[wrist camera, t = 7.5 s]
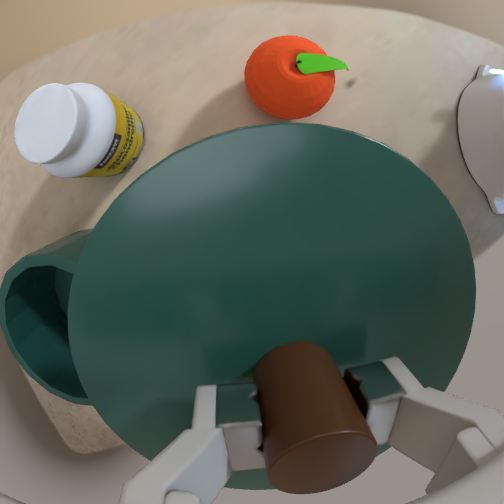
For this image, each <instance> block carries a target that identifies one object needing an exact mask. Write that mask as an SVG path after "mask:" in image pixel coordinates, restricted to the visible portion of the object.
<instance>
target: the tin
mask: <svg viewBox="0 0 504 504" xmlns="http://www.w3.org/2000/svg"><path fill="white" fill-rule="evenodd" d="M92 231H93V229H87V230H83V231H78V232H75V233H73V234H71V235H69V236H67V237H64V238H62V239H60V240H58V241H56V242H53V243H51V244H49V245H47V246H45V247H43V248H41V249H39V250H37V251H35V252H33V253H31V254H29V255H27V256H25V257H23V258H22V259H21V260H19V261H18V262H17V263H16V264H15V265H14V266H13V267H11V268H10V269H9V270H8V271H7V272H6V274H5V276H4V279H3V282H2V285H1V288H0V325H1V328H2V331H3V333H4V336H5V339H6V341H7V344H8V346H9V348H10V350H11V352H12V353H13V355H14V356H15V358H16V359H17V361H18V362H19V363H20V365H21V366H22V367H23V369H24V370H25V371H26V373H27V374H28V375H29V376H30V377H32V378H33V379H34V380H35V381H36V382H37V383H39V384H40V385H41V386H42V387H44V388H45V389H46V390H47V391H49V392H50V393H52V394H54V395H56V396H58V397H61V398H63V399H65V400H67V401H70V402H72V403H74V404H75V403H76V404H81V405H91V406H93V405H92V403H91V402H90V400H89V398H88V396H87V394H86V392H85V390H84V388H83V386H82V384H81V382H80V380H79V377H78V374H77V371H76V368H75V365H74V362H73V359H72V354H71V349H70V343H69V337H68V304H69V296H70V289H71V283H72V279H73V276H74V273H75V270H76V266H77V263H78V260H79V257H80V254H81V252H82V250H83V248H84V246H85V244H86V242H87V240H88V238H89V237H90V235H91V233H92Z"/></svg>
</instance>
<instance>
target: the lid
mask: <svg viewBox="0 0 504 504" xmlns="http://www.w3.org/2000/svg"><path fill="white" fill-rule="evenodd" d="M475 299H476V281H475V269H474V263H473V258H472V253H471V249H470V245H469V242H468V239H467V236H466V234H465V231H464V229H463V226H462V224H461V221H460V219H459V218H458V216H457V214H456V212H455V211H454V209H453V207H452V205H451V204H450V202H449V200H448V199H447V198H446V196H445V195H444V194H443V193H442V191H441V190H440V189H439V188H438V186H437V185H436V184H435V183H434V182H433V180H432V179H431V178H430V177H429V176H428V175H426V174H425V173H424V172H423V171H422V170H421V169H420V168H418V167H417V166H416V165H415V164H414V163H413V162H411V161H410V160H409V159H408V158H406V157H404V156H403V155H401V154H400V153H398V152H396V151H395V150H393V149H391V148H390V147H388V146H386V145H385V144H383V143H381V142H378V141H376V140H373V139H371V138H368V137H366V136H363V135H361V134H358V133H356V132H353V131H349V130H344V129H340V128H335V127H331V126H326V125H321V124H310V123H288V122H280V123H270V124H261V125H253V126H245V127H241V128H237V129H234V130H230V131H227V132H223V133H220V134H216V135H213V136H209V137H206V138H204V139H202V140H200V141H197V142H195V143H193V144H191V145H189V146H187V147H185V148H182V149H180V150H178V151H176V152H174V153H172V154H171V155H169V156H167V157H166V158H164V159H163V160H162V161H160V162H159V163H157V164H156V165H154V166H153V167H151V168H150V169H148V170H147V171H145V172H144V173H143V174H141V175H140V176H139V177H138V178H137V179H136V180H135V181H134V182H133V183H132V184H130V185H129V186H128V187H127V188H126V189H125V190H124V191H123V192H122V193H121V194H120V195H119V196H118V197H117V198H116V199H115V200H114V201H113V203H112V204H111V205H110V207H109V208H108V209H107V211H106V212H105V213H104V215H103V216H102V217H101V219H100V220H99V221H98V223H97V224H96V226H95V227H94V229H93V231H92V233H91V235H90V237H89V238H88V240H87V242H86V244H85V246H84V248H83V250H82V252H81V254H80V257H79V260H78V263H77V266H76V270H75V273H74V276H73V279H72V283H71V289H70V296H69V304H68V337H69V343H70V349H71V354H72V359H73V362H74V365H75V368H76V371H77V374H78V377H79V380H80V382H81V384H82V386H83V388H84V390H85V392H86V394H87V396H88V398H89V400H90V402H91V403H92V405H93V406H94V408H95V409H96V411H97V412H98V413H99V415H100V416H101V417H102V419H103V420H104V421H105V423H106V424H107V425H108V426H109V427H110V428H111V429H112V430H113V431H114V432H115V433H116V434H117V435H118V437H120V438H121V439H122V440H123V441H124V442H125V443H127V444H128V445H129V446H130V447H131V448H133V449H134V450H135V451H137V452H138V453H139V454H141V455H143V456H144V457H145V458H147V459H149V460H150V461H151V460H153V459H154V458H155V457H156V456H157V455H158V454H159V453H160V452H161V451H163V450H164V449H165V448H166V447H167V446H168V445H169V444H170V443H171V442H172V441H173V440H175V439H176V438H177V437H178V436H179V435H180V434H181V433H182V432H183V431H184V430H185V429H191V428H192V419H193V411H194V402H195V394H196V388H197V387H198V385H218V384H233V383H248V382H256V387H257V395H258V403H259V409H260V417H261V424H262V434H263V443H262V448H263V455H264V462H265V468H262V469H254V470H245V471H234V472H232V473H233V474H232V475H231V477H230V478H229V480H228V481H227V482H226V484H225V485H224V487H227V488H235V489H249V490H266V489H278V490H280V491H283V492H286V493H293V494H311V493H317V492H323V491H327V490H330V489H333V488H336V487H338V486H341V485H343V484H345V483H347V482H349V481H351V480H352V479H354V478H356V477H357V476H359V475H360V474H361V473H362V472H364V471H365V470H366V469H367V468H368V467H369V466H370V465H371V463H372V462H373V460H374V459H375V457H376V456H378V455H379V454H381V453H382V452H384V451H386V450H387V449H389V448H390V447H391V446H390V445H388V443H385V444H381V445H378V444H377V441H376V439H375V437H374V435H373V433H372V431H371V429H370V427H369V425H368V424H367V422H366V420H365V418H364V416H363V414H362V412H361V410H360V408H359V406H358V405H357V403H356V401H355V399H354V397H353V395H352V393H351V391H350V389H349V388H348V386H347V384H346V382H345V380H344V378H343V375H344V371H345V369H346V368H350V367H355V366H359V365H364V364H368V363H373V362H377V361H379V360H383V359H386V358H390V357H394V356H395V357H398V358H399V359H400V360H401V361H402V362H403V364H404V365H405V366H406V367H407V368H408V369H409V371H410V372H411V373H412V374H413V375H414V377H415V378H416V379H417V380H418V381H419V382H420V384H421V385H422V386H423V387H424V388H427V387H431V388H434V389H437V390H439V391H442V392H444V391H445V390H446V388H447V387H448V385H449V383H450V381H451V380H452V378H453V376H454V374H455V373H456V371H457V368H458V366H459V364H460V362H461V359H462V357H463V355H464V352H465V349H466V346H467V343H468V340H469V337H470V333H471V328H472V323H473V318H474V312H475Z"/></svg>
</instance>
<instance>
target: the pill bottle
mask: <svg viewBox="0 0 504 504" xmlns="http://www.w3.org/2000/svg"><path fill="white" fill-rule="evenodd" d="M144 140H145V131H144V126H143V123H142V121H141V119H140V117H139V116H138V114H137V113H136V112H135V111H134V110H132V109H131V108H130V107H128V106H127V105H125V104H124V103H122V102H121V101H119V100H118V99H116V98H114V97H113V96H112V95H110V94H109V93H107V92H105V91H104V90H102V89H101V88H99V87H97V86H95V85H92V84H88V83H74V84H70V85H67V86H64V85H61V84H58V83H53V84H47V85H44V86H42V87H40V88H38V89H37V90H35V91H34V92H33V93H32V94H31V95H30V96H29V97H28V98H27V99H26V100H25V102H24V103H23V105H22V107H21V109H20V111H19V113H18V116H17V120H16V124H15V142H16V145H17V148H18V150H19V152H20V154H21V155H22V156H23V157H24V158H25V159H26V160H28V161H29V162H32V163H35V164H40V165H41V166H42V168H43V169H44V170H46V171H47V172H48V173H50V174H52V175H54V176H57V177H62V178H75V177H95V176H113V175H117V174H120V173H122V172H124V171H125V170H127V169H128V168H129V167H131V166H132V165H133V164H134V163H135V161H136V160H137V159H138V157H139V155H140V154H141V151H142V149H143V146H144Z"/></svg>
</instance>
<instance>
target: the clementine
mask: <svg viewBox="0 0 504 504" xmlns="http://www.w3.org/2000/svg"><path fill="white" fill-rule="evenodd" d="M337 69H347V70H348V67H347V65H346V64H345V63H343V62H342V61H340V60H338V59H335V58H333V57H329V56H327V54H326V53H325V52H324V50H322V49H321V48H320V47H319V46H318V45H317V44H315V43H313V42H312V41H310V40H308V39H305V38H302V37H298V36H281V37H276V38H272V39H270V40H268V41H265V42H263V43H262V44H261V45H259V46H258V47H257V48H256V49H255V50H254V52H253V53H252V55H251V56H250V58H249V59H248V61H247V64H246V68H245V84H246V87H247V90H248V93H249V95H250V97H251V98H252V100H253V101H254V102H255V104H256V105H257V106H259V107H260V108H261V109H262V110H263V111H265V112H267V113H269V114H270V115H272V116H275V117H279V118H283V119H299V118H303V117H307V116H310V115H312V114H314V113H316V112H318V111H319V110H320V109H321V108H322V107H323V106H324V105H325V104H326V103H327V102H328V100H329V98H330V97H331V95H332V93H333V90H334V85H335V74H334V70H337Z"/></svg>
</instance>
